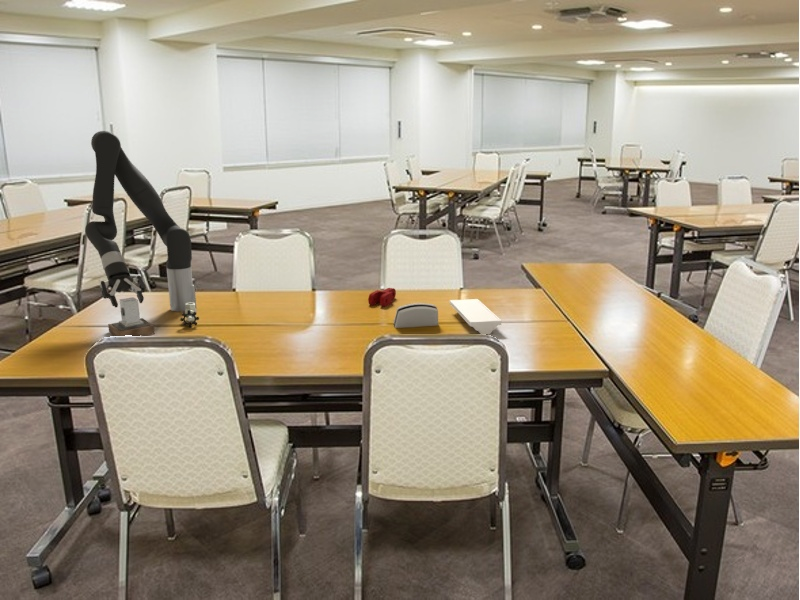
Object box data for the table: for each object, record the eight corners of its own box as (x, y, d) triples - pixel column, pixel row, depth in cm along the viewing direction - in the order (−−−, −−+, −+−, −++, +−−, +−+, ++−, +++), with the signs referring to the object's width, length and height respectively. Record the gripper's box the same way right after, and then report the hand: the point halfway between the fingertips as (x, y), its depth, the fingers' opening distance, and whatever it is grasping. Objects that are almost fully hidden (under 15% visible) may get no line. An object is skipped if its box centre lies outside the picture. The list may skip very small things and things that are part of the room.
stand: (143, 325, 237) (142, 317, 236) (154, 333, 228) (153, 325, 227) (109, 332, 230) (108, 323, 229) (119, 340, 221) (118, 331, 220)
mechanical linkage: (383, 308, 262) (383, 296, 260) (368, 306, 265) (368, 294, 263) (400, 299, 276) (400, 287, 274) (385, 297, 279) (385, 286, 277)
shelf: (469, 336, 227) (470, 322, 226) (449, 312, 256) (449, 300, 254) (500, 334, 229) (501, 320, 228) (477, 311, 258) (477, 298, 256)
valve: (182, 319, 246) (180, 328, 234) (181, 302, 244) (179, 311, 233) (200, 318, 247) (199, 327, 236) (199, 301, 246) (198, 310, 234)
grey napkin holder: (435, 321, 244) (438, 299, 238) (438, 328, 240) (441, 307, 234) (392, 323, 240) (394, 302, 235) (394, 331, 236) (396, 309, 231)
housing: (137, 320, 233) (135, 296, 230) (143, 324, 228) (141, 300, 225) (119, 323, 229) (116, 299, 226) (124, 327, 224) (122, 303, 222)
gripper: (95, 263, 225) (109, 302, 219) (136, 258, 233) (151, 294, 228) (93, 275, 230) (106, 313, 225) (133, 270, 239) (147, 306, 233)
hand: (129, 304), depth 226 cm, fingers open, 8 cm apart
